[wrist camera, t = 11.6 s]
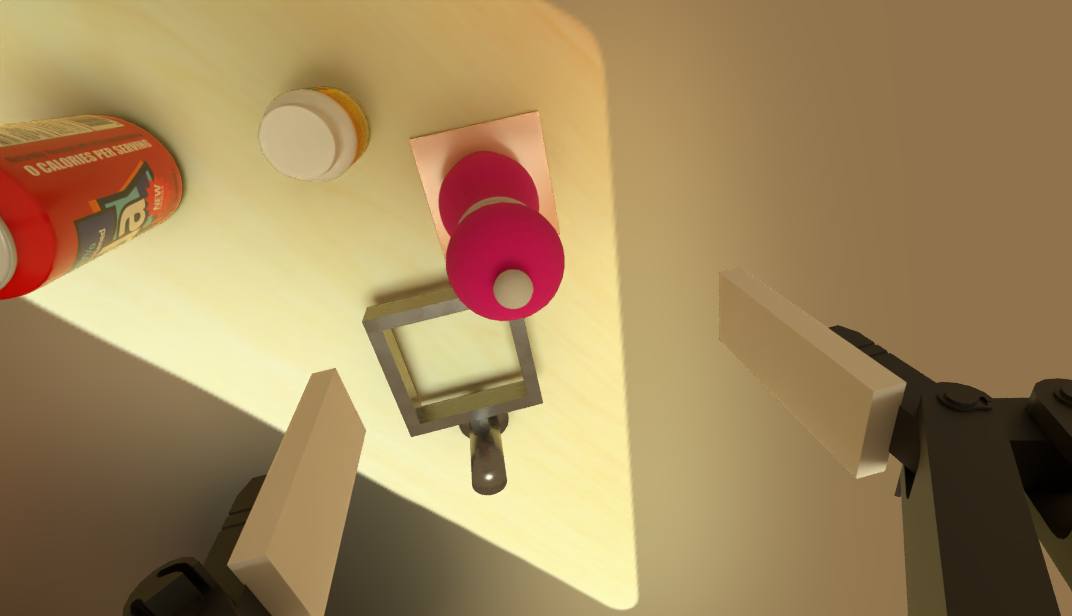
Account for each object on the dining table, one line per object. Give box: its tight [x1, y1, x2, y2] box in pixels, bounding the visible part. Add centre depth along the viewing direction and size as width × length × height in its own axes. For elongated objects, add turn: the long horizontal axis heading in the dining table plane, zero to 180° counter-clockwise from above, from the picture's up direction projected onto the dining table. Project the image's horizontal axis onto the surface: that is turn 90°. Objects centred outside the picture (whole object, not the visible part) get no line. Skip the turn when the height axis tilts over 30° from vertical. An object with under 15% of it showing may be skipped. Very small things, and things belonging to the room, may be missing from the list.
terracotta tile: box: [409, 111, 560, 260], centre depth 38 cm, size 10×10×1 cm
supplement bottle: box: [259, 87, 371, 182], centre depth 30 cm, size 5×5×10 cm
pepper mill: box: [438, 151, 564, 321], centre depth 29 cm, size 7×7×20 cm
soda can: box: [0, 114, 182, 300], centre depth 27 cm, size 8×8×15 cm
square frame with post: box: [362, 287, 543, 495], centre depth 42 cm, size 18×12×9 cm
